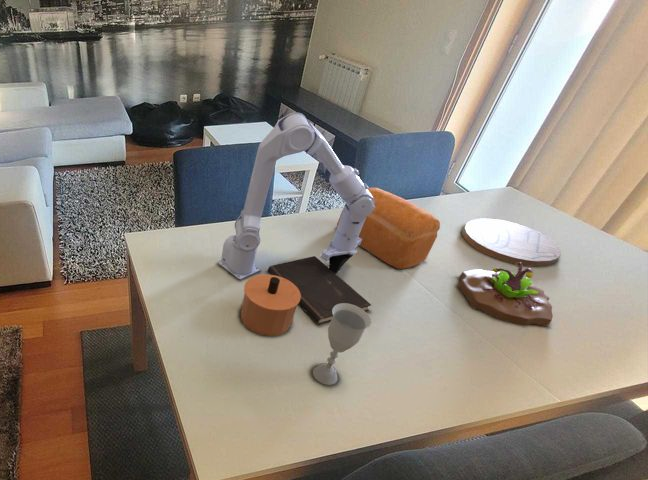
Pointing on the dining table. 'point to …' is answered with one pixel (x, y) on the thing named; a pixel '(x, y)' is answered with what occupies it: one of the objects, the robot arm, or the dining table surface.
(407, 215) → the bread
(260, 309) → the pot
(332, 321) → the chalice
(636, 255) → the dining table surface
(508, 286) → the plant
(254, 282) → the pot lid
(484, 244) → the trivet
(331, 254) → the robot arm
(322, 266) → the hardcover book
